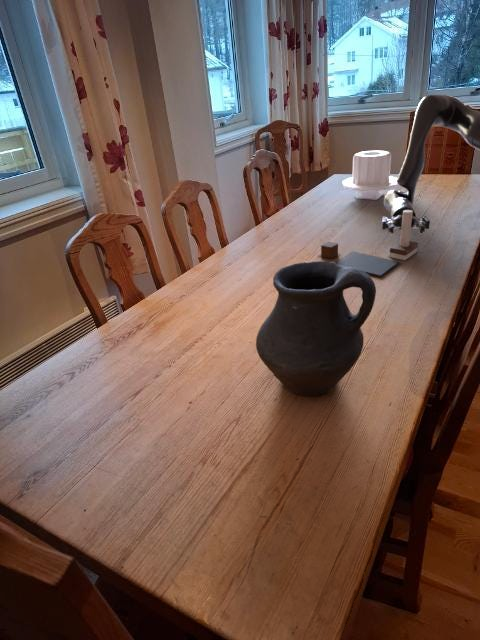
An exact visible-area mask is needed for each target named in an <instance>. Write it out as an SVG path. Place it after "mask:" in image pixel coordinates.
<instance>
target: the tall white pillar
mask: <svg viewBox="0 0 480 640" xmlns="http://www.w3.org/2000/svg"><path fill="white" fill-rule="evenodd" d="M412 214H413V211H412V210H404V211H403V217H402V227H401V229H400V237H399V241H398V242H397V243H395V244H393V245H392V246H391V247H389V253H390V255H389V257H390V258H393V259H398V260H401V261H406V260H407V259H409V258H410V257H412V256H413V255H414V254H416V253H417V252H418V251H417V250H418V248H419V242H416V241H411V240H410V239H411V232H412V228H411V223H412Z"/></svg>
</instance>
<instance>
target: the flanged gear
mask: <svg viewBox="0 0 480 640" xmlns="http://www.w3.org/2000/svg"><path fill="white" fill-rule="evenodd" d="M391 165H392V153H391V151H386V150H365V151H360V152H357V153H354V155H353V156H352V177H348V178H346V179H344V180H343V181H342V187H343V188H344V189H347V190H352V191H355V198H356V199H361V200H362V199H363V200H374V201H375V200H378V199H379V198H381V197H382V196H383V195H384V191H386V190H392V189H394V188H397V187H398V186H400V185H399V184H398V183H397V179H398V177H395V176H391Z"/></svg>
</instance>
